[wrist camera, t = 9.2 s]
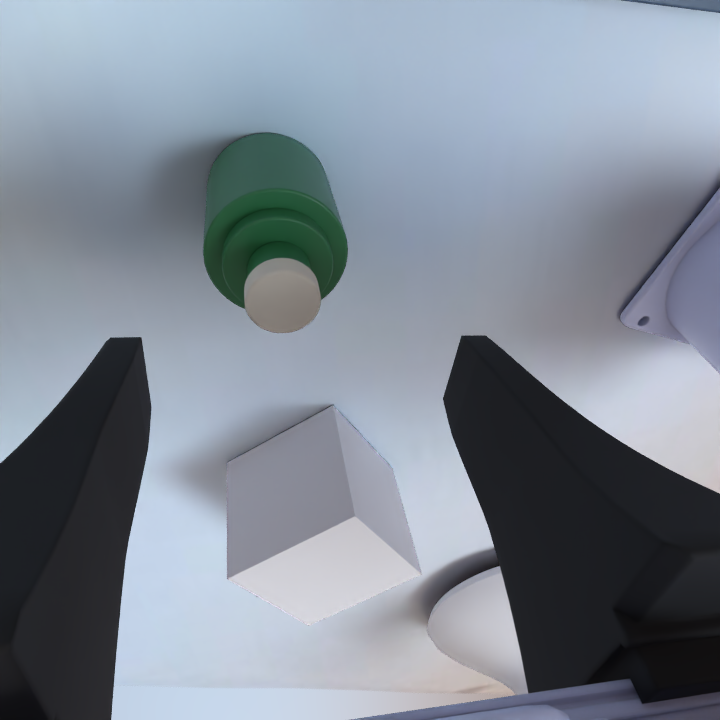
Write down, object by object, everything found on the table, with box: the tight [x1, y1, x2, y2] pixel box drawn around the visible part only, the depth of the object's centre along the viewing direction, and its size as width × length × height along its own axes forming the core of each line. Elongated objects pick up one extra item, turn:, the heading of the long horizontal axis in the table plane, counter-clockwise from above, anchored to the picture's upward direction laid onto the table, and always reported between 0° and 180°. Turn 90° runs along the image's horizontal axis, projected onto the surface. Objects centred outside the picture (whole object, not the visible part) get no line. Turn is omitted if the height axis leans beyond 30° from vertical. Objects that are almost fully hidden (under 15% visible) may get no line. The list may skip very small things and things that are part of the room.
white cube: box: [227, 405, 422, 626], centre depth 26 cm, size 6×6×6 cm
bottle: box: [203, 133, 348, 333], centre depth 17 cm, size 4×4×6 cm
